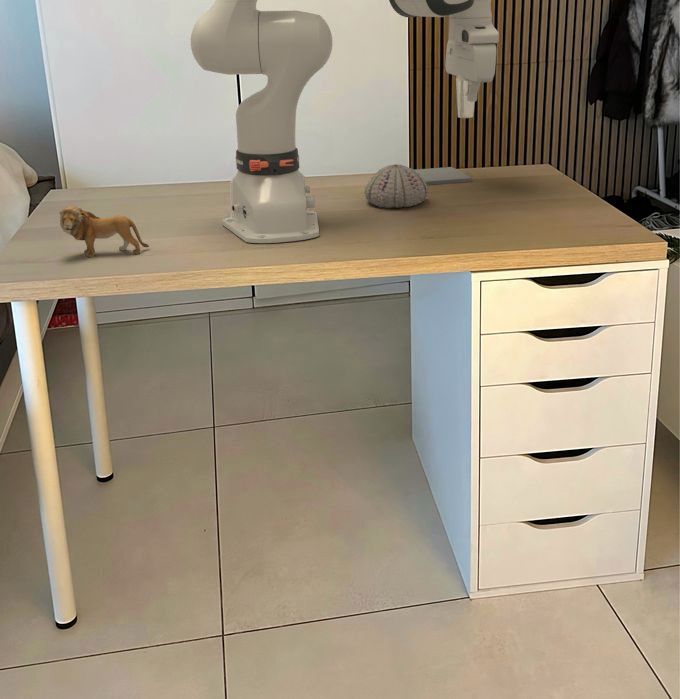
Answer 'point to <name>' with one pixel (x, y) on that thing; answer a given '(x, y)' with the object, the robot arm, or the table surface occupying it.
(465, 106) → the milkshake
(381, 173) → the sea urchin shell
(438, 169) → the pad
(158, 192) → the table surface
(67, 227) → the lion figurine
